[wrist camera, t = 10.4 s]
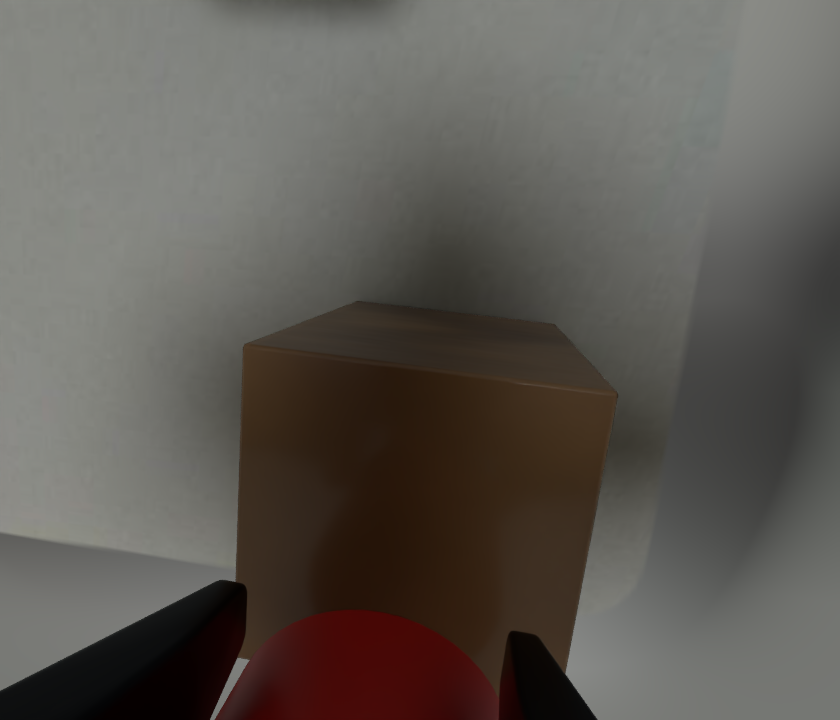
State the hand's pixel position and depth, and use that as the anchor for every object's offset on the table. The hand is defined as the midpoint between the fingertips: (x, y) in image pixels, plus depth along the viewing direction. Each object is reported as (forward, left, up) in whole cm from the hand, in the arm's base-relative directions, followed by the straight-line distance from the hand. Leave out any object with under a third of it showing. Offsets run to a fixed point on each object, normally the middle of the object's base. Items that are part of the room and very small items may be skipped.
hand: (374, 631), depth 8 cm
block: (0, 0, -12) cm, 12 cm away
